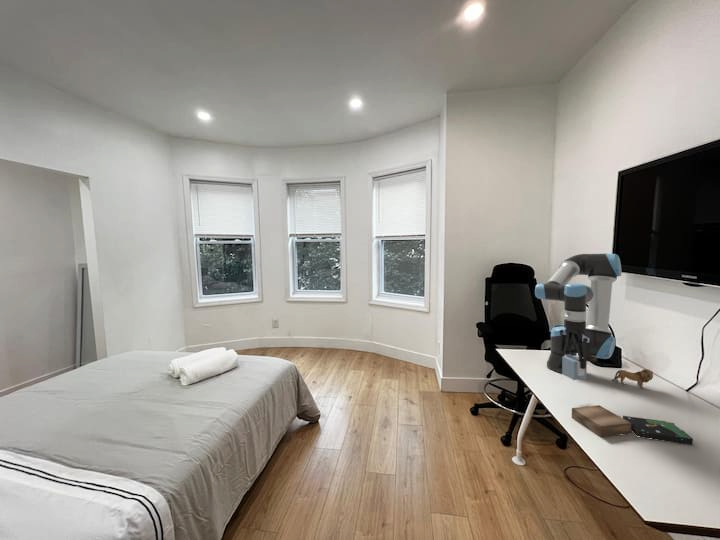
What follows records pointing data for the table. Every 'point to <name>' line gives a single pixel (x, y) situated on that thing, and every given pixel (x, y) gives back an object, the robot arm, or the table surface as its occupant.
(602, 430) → the walnut base
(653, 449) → the table surface
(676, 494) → the table surface
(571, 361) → the slate block
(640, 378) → the lion figurine
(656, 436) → the disk drive
